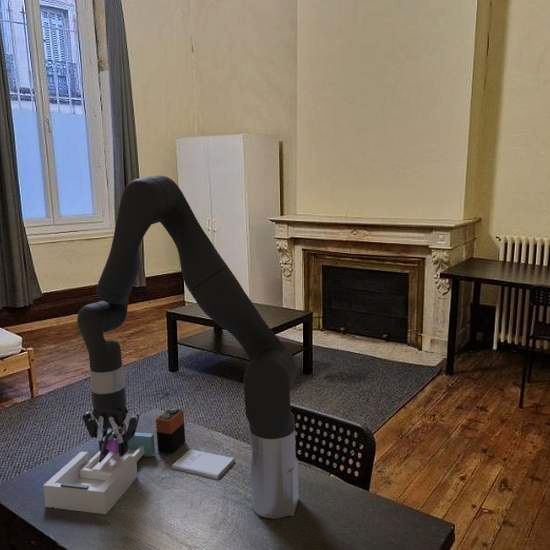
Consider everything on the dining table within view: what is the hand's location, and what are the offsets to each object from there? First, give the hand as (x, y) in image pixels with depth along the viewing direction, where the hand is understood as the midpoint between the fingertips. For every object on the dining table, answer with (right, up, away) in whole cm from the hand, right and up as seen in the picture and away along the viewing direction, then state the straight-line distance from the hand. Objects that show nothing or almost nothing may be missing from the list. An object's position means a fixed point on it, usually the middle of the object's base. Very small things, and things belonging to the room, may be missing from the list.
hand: (114, 453), depth 123 cm
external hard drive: (+21, -4, +2) cm, 22 cm away
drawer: (0, -3, +1) cm, 3 cm away
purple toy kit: (0, -1, +2) cm, 2 cm away
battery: (+12, -2, +10) cm, 16 cm away
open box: (-2, -5, -8) cm, 10 cm away
